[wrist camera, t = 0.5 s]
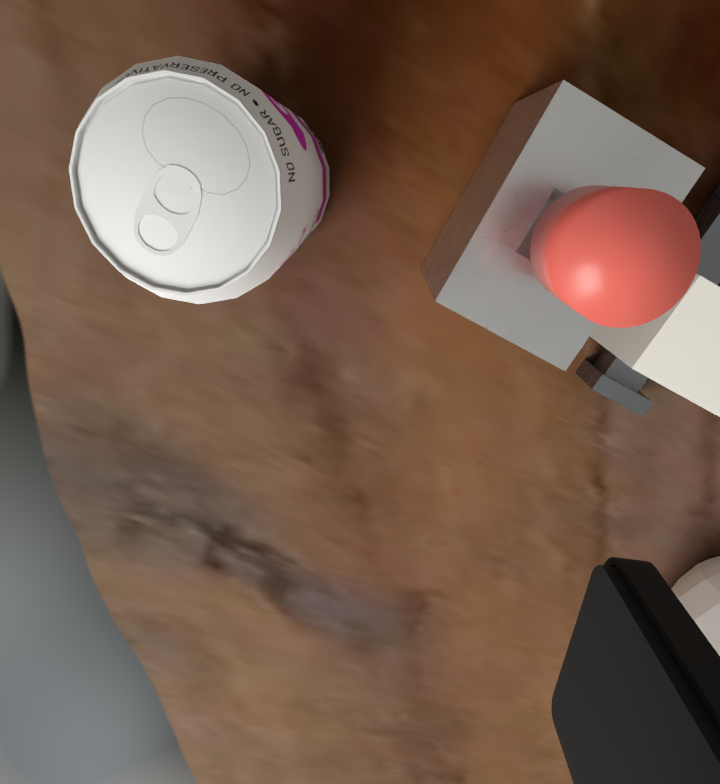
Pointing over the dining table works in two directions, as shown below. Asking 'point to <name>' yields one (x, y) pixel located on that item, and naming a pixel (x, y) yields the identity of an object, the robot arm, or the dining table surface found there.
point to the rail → (613, 375)
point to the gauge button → (616, 253)
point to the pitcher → (702, 597)
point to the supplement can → (195, 179)
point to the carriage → (676, 345)
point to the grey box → (540, 213)
